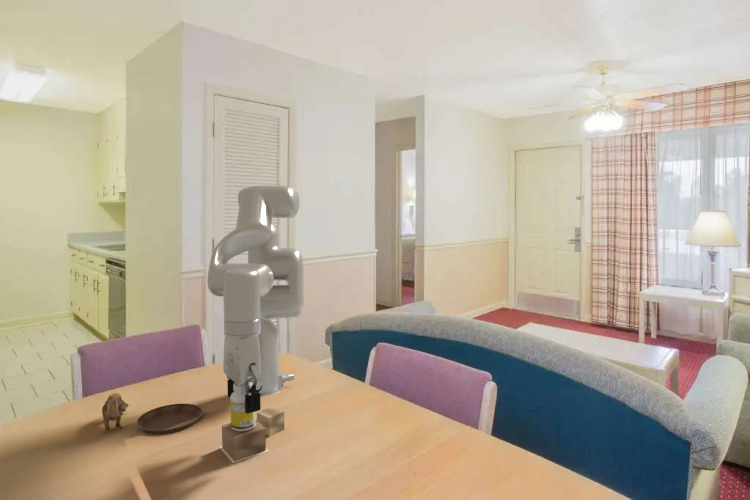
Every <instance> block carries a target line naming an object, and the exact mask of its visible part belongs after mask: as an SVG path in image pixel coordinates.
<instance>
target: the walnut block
mask: <svg viewBox="0 0 750 500" xmlns="http://www.w3.org/2000/svg"><path fill="white" fill-rule="evenodd" d="M266 437H267V435H266V428H265V427H263V426H262V425H261V424H260V423H259V422H258V421H257V424H256V426H255V427H254V428H253V429H251V430H248V431H235V430H233V429H232V428H231V422H228V423H226V424H222V425H221V446H222V448H223V449H224V450H225V451H226V452H227V453H228V454H229V456H230V457H231V458H232V459H233V460H234V461H236V460H239V459H242V458H245V457H248V456H251V455H254V454H257V453H260V452H263V451H266V449H267V445H266V444H267V443H266V442H267V441H266V440H267V438H266Z"/></svg>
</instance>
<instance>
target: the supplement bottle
mask: <svg viewBox="0 0 750 500" xmlns="http://www.w3.org/2000/svg"><path fill="white" fill-rule="evenodd" d="M251 386H252V383H250V384H249V387H250V388H251ZM233 390H234V392H233V393H232V394H231V396H230V398H229V399H230V401H229V402H230V423H231V428H232V429H233V430H235V431H248V430H251V429H253V428H254V427H255V426H256V424H257V411H256V412H252V413H249V414H247V413H245V395H246V394H247V393H246V390H245V386H244V383H243V384H242V385H238V384H237V383H235V382H234V384H233Z"/></svg>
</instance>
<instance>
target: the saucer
mask: <svg viewBox="0 0 750 500" xmlns="http://www.w3.org/2000/svg"><path fill="white" fill-rule="evenodd" d="M202 415H203V409H202V408H201V407H200V406H198V405H196V404H192V403H173V404H166V405H162V406H159V407H155V408H153V409H150V410H148V411H146V412H144V413H142V414H141V415H140V416H138V418H137V419H136V425H137V426H138V427H139V429H140V430H142V431H143V432H145V433H146V434H169V433H174V432H178V431H181V430H184V429H187V428H189V427H190V426H193V425H194V424H195V423H197V422H198V421H199V419H200V418H201V417H202ZM193 419H194V420H193ZM191 420H192V421H191ZM188 421H190V422H188ZM185 422H188V423H186V424H183V423H185ZM180 424H183V425H180ZM178 425H180V426H178ZM174 426H175V427H174Z"/></svg>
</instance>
